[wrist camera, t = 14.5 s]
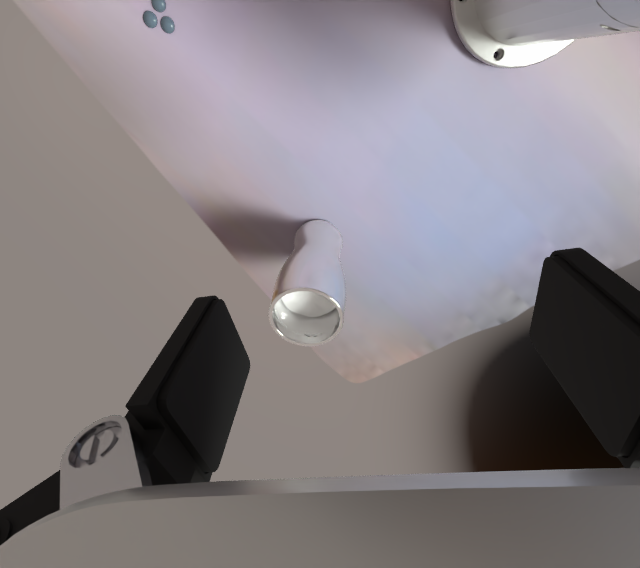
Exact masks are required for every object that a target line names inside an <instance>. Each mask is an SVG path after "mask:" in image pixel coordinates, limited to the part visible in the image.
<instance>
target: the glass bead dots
mask: <svg viewBox="0 0 640 568" xmlns="http://www.w3.org/2000/svg"><path fill="white" fill-rule="evenodd" d="M152 5H153V7H154V9H155V10H156V11H158V12H163V11H164V10H165V8H166V3H165V0H152ZM143 19H144V22H145V24H146V25H147V26H148V27H150V28H154V27H156V25H157V18H156V16H155V14H154V13H153V12H151V11H146V12H145V13H144V15H143ZM161 27H162V29H163V30H164V31H165V32H166V33H172V32H173V31H174V22H173V21H172V19H171V18H169V17H167V16H165V17H163V18H162V19H161Z"/></svg>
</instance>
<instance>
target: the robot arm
mask: <svg viewBox="0 0 640 568" xmlns="http://www.w3.org/2000/svg"><path fill="white" fill-rule="evenodd" d="M451 11H452V17H453V23H454V25H455V28H456V31H457V34H458V36H459V38H460V40H461V41H462V43H463V44H464V46H465V48H466V49H467V50H468V51H469V52H470V53H471V54H472V55H473V56H474V57H475V58H477V59H478V60H480V61H482V62H484V63H486V64H488V65H491V66H495V67H499V68H518V67H526V66H529V65H533V64H536V63H539V62H542V61H544V60H546V59H548V58H550V57H552V56H554V55H556V54H557V53H558V52H560V51H561V50H563V49H564V48H566V47H567V46H569V45H570V44H571V43H572V42H573V41H574V40H575V39H581V38H588V37H596V36H604V35H612V34H620V33H627V32H635V31H640V0H462V1H459V0H451ZM496 51H497V52H498V56H497V57H496V58H494V57H493V56H494V53H495V52H496ZM530 339H531V342H532V344H533V346H534V347H535V348H536V350H537V351H538V353H539V354H540V356H541V357H542V359H543V360H544V361H545V363H546V364H547V366H548V367H549V369H550V370H551V371H552V373H553V375H554V376H555V378H556V379H557V380H558V382H559V383H560V385H561V386H562V388H563V389H564V391H565V392H566V393H567V395H568V396H569V398H570V399H571V401H572V402H573V403H574V405H575V407H576V408H577V409H578V411H579V412H580V414H581V415H582V417H583V418H584V419H585V421H586V422H587V424H588V425H589V427H590V428H591V430H592V431H593V433H594V434H595V435H596V437H597V438H598V440H599V441H600V443H601V444H602V445H603V447H604V449H605V450H606V451H607V452H608V453H609V454H610V455H612V456H614V457H616V456H617V457H618V459H619V460H620V462H621V463H622V464H623V466H624V467H625V468H612V469H611V468H605V469H571V470H539V471H538V470H535V471H500V472H466V473H437V474H407V475H377V476H348V477H319V478H294V479H269V480H244V481H219V482H209V481H210V478H211V475H212V472H215V471H216V470H217V469H218V467H219V464H220V461H221V458H222V455H223V452H224V449H225V445H226V442H227V439H228V436H229V433H230V430H231V426H232V424H233V420H234V417H235V414H236V411H237V408H238V404H239V401H240V398H241V395H242V392H243V389H244V386H245V382H246V379H247V376H248V373H249V369H250V360H249V357H248V355H247V353H246V351H245V348H244V346H243V344H242V341H241V339H240V337H239V335H238V332H237V330H236V328H235V325H234V323H233V321H232V319H231V316H230V314H229V312H228V309H227V307H226V305H225V303H224V301H223V300H222V299H218V298H217V297H216V296H207V297H199V298H196V299H195V300H194V302H193V303H192V305H191V307H190V308H189V310H188V311H187V313H186V314H185V316H184V317H183V319H182V320H181V322H180V323H179V325H178V326H177V328H176V330H175V331H174V332H173V334H172V335H171V337H170V339H169V340H168V342H167V343H166V345H165V346H164V348H163V349H162V351H161V352H160V354H159V355H158V357H157V358H156V360H155V361H154V363H153V365H152V366H151V368H150V369H149V371H148V372H147V374H146V375H145V377H144V378H143V380H142V381H141V383H140V384H139V386H138V387H137V389H136V390H135V392H134V394H133V395H132V397H131V398H130V400H129V401H128V403H127V404H126V408H127V409H128V410H129V411H128V413H127V414H126V416H125V417H122V416H120V415H112V416H108V417H104V418H102V419H99V420H97V421H95V422H93V423H92V424H91V425H89V426H88V427H86V428H85V429H84V430H82V431H81V432H80V433H79V434H78V435H77V436H76V437H75V438H74V439H73V440H72V441H71V443H70V444H69V445H68V446H67V448H66V450H65V452H64V454H63V455H62V459H61V464H60V470H59V471H58V472H56V473H55V474H53V475H52V476H50V477H49V478H47V479H46V480H44V481H43V482H41V483H40V484H39V485H37V486H35V487H34V488H32V489H31V490H29V491H28V492H26V493H25V494H24V495H22V496H21V497H19V498H18V499H16V500H15V501H13V502H12V503H10V504H9V505H7V506H6V507H4V508H3V509H1V510H0V568H640V291H638V290H637V289H636V288H634V287H633V286H632V285H630V284H629V283H628V282H626V281H625V280H624V279H622V278H621V277H619V276H618V275H617V274H615V273H614V272H613V271H612V270H610V269H609V268H608V267H606V266H605V265H604V264H602V263H601V262H600V261H598V260H597V259H596V258H594V257H593V256H591V255H590V254H589V253H587V252H586V251H585V250H583V249H581V248H573V249H565V250H557V251H554V252H552V254H551V255H550V257H547V258H545V260H544V263H543V267H542V272H541V277H540V282H539V287H538V292H537V297H536V302H535V307H534V312H533V317H532V322H531V327H530Z"/></svg>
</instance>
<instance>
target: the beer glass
mask: <svg viewBox="0 0 640 568" xmlns="http://www.w3.org/2000/svg"><path fill="white" fill-rule="evenodd" d="M342 246H343V239H342V235H341V233H340V231H339V230H338V229H337V228H336V227H335V226H334V225H333V224H331V223H330V222H327V221H324V220H312V221H308V222H306V223H304V224H303V225H302V226H301V227H300V228H299V229H298V230H297V232H296V234H295V238H294V251H293V252H292V253H291V255H290V256H289V257H288V259H287V260H286V261H285V263H284V265H283V266H282V268H281V270H280V272H279V274H278V277H277V279H276V282H275V286H274V290H273V294H272V300H271V305H270V308H269V321H270V324H271V326H272V328H273V329H274V331H275V332H276V333H277V334H278V335H279V336H280V337H282V338H283V339H284V340H286V341H288V342H290V343H293V344H296V345H300V346H318V345H322V344H325V343H327V342H329V341H331V340H332V339H334V338H335V337H336V336H337V335H338V334H339V332H340V331H341V329H342V326H343V322H344V311H345V304H346V280H345V275H344V271H343V268H342V264H341V261H340V258H339V255H340V253H341V250H342Z"/></svg>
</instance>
